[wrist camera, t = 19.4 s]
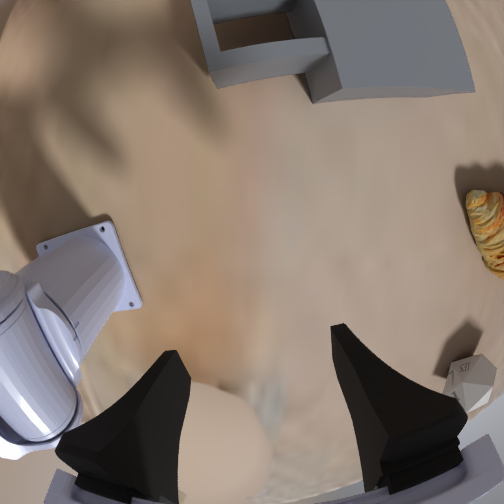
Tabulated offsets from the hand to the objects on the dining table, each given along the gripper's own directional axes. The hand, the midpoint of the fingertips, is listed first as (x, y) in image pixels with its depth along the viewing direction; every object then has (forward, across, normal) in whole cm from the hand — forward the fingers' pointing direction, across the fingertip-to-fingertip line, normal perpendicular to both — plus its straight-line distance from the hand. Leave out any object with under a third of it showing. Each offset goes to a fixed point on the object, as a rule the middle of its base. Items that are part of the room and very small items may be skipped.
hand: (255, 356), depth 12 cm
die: (+12, -25, +24) cm, 36 cm away
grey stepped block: (+11, -8, -16) cm, 21 cm away
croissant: (+12, -29, +3) cm, 31 cm away
